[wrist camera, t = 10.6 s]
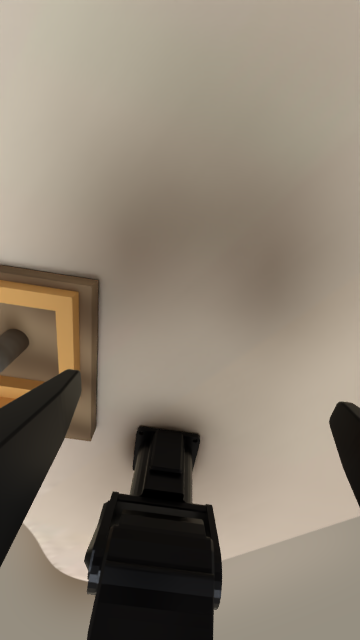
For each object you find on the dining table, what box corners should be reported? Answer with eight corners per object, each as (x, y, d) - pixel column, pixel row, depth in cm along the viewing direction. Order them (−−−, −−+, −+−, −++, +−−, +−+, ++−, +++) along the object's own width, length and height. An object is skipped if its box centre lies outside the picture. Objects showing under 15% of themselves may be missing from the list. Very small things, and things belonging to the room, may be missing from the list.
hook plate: (95, 429, 27) (71, 488, 22) (-23, 412, 27) (-78, 469, 21) (98, 280, 20) (64, 312, 15) (-61, 255, 20) (-156, 278, 15)
